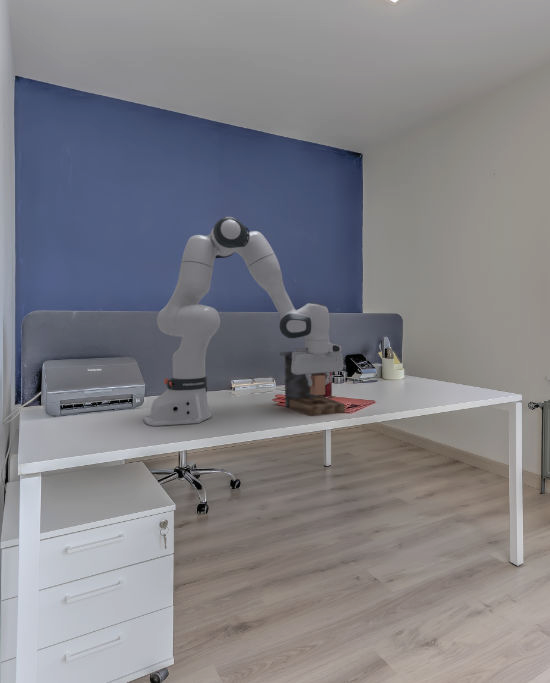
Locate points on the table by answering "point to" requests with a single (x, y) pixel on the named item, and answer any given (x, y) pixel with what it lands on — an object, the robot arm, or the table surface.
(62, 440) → the table surface
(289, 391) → the socket block
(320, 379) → the peg
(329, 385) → the soda can
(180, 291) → the robot arm
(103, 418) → the table surface
